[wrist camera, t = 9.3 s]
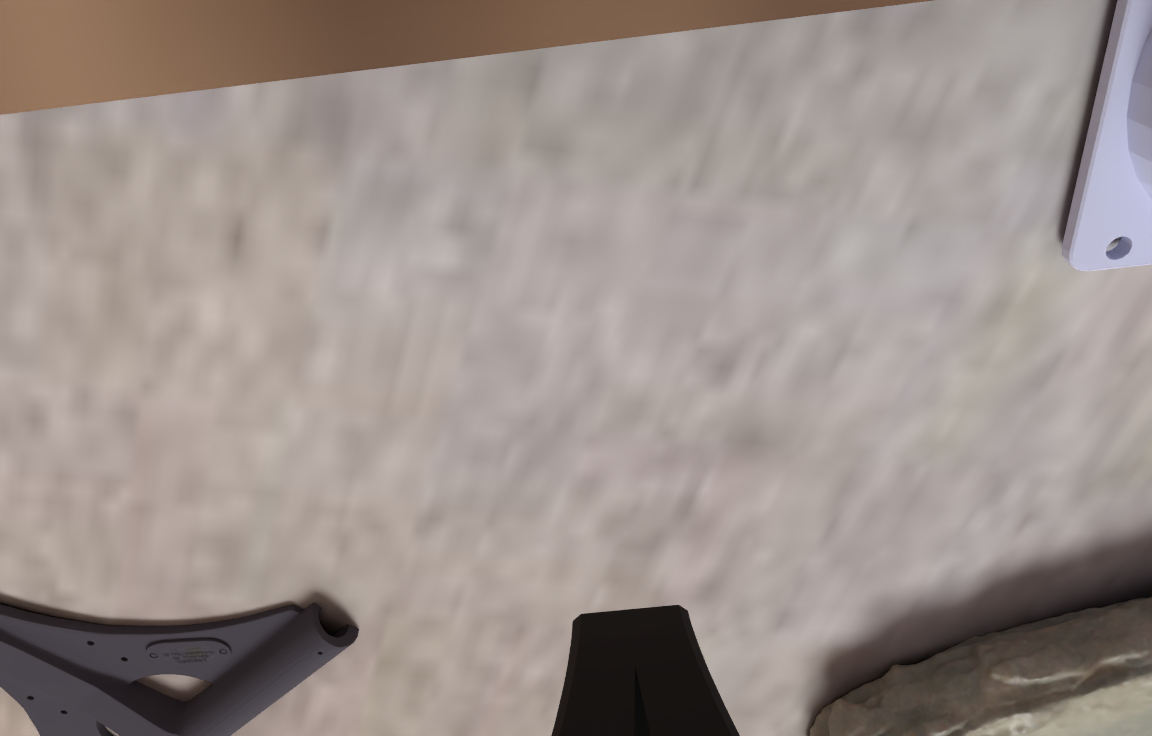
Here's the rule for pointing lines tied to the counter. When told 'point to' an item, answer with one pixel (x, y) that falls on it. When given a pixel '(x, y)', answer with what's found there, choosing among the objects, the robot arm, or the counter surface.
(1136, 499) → the counter surface
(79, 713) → the bracket
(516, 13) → the walnut shelf
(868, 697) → the elongated rock
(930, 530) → the counter surface
